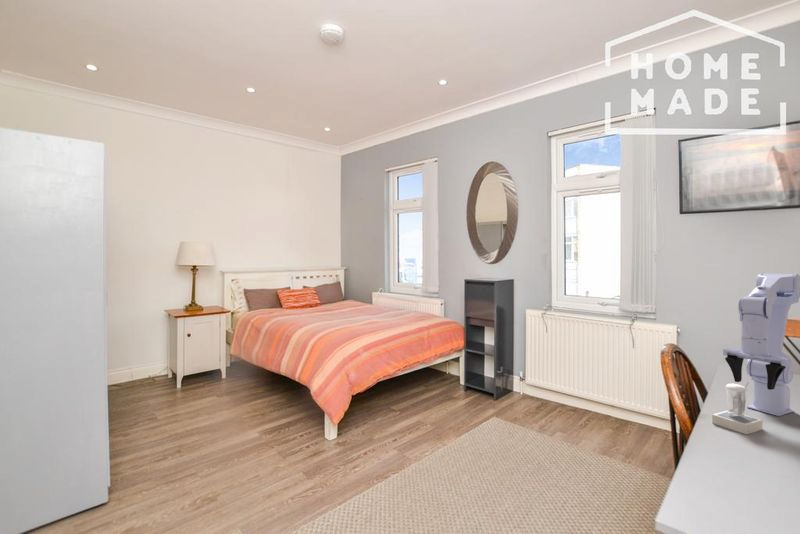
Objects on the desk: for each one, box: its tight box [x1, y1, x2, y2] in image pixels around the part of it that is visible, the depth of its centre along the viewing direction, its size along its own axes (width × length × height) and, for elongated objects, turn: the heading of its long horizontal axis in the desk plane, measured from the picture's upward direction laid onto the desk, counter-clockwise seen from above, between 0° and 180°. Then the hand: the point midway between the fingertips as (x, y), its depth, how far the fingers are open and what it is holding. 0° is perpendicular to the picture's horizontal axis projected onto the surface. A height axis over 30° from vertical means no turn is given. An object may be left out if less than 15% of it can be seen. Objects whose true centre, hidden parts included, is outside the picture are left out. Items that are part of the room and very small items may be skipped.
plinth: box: [711, 409, 764, 435], centre depth 108 cm, size 8×8×3 cm
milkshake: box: [725, 381, 750, 419], centre depth 108 cm, size 4×5×10 cm
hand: (753, 385), depth 112 cm, fingers open, 7 cm apart
